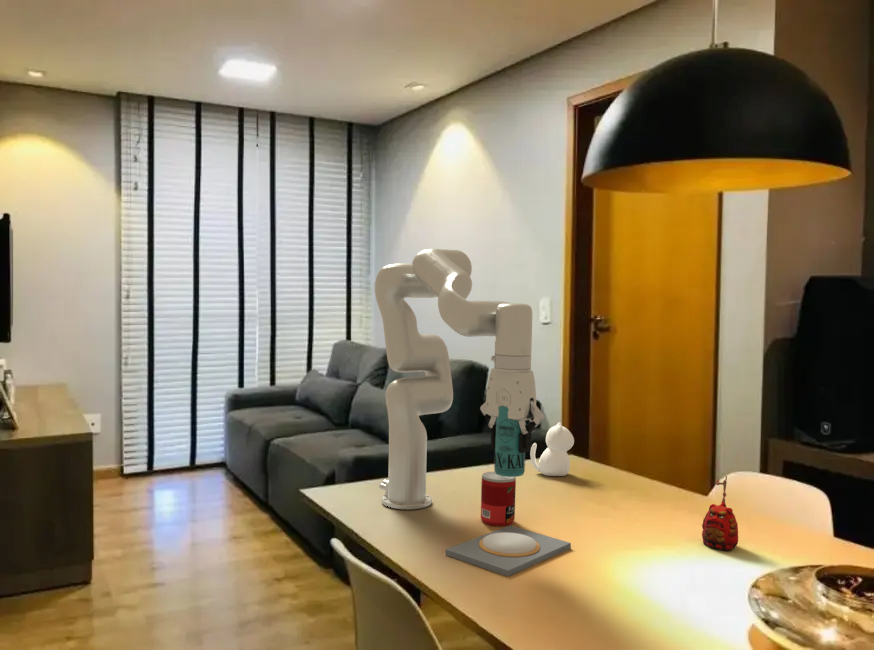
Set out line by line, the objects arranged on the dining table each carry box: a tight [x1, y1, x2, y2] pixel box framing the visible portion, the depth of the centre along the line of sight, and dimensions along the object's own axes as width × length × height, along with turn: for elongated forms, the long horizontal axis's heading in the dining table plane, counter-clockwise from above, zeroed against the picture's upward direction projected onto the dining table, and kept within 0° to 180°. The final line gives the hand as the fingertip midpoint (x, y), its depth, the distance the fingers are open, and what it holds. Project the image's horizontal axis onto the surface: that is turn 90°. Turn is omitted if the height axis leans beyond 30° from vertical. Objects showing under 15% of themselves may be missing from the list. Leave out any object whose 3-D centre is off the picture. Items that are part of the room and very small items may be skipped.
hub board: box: [445, 524, 572, 577], centre depth 161 cm, size 16×22×2 cm
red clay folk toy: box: [701, 475, 739, 552], centre depth 167 cm, size 8×7×15 cm
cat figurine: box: [529, 421, 575, 477], centre depth 226 cm, size 9×12×15 cm
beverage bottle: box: [493, 406, 526, 478], centre depth 160 cm, size 6×7×20 cm
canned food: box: [480, 470, 517, 527], centre depth 181 cm, size 8×8×11 cm
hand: (510, 448), depth 160 cm, fingers closed on beverage bottle, 6 cm apart
